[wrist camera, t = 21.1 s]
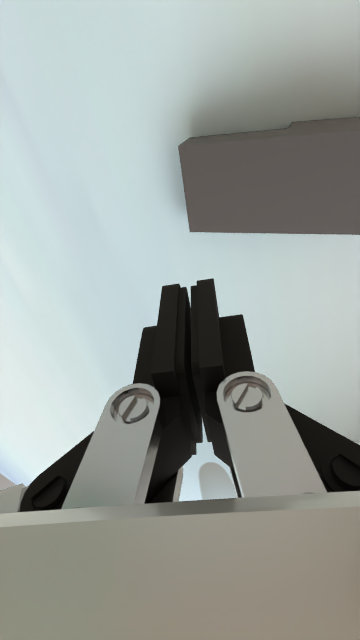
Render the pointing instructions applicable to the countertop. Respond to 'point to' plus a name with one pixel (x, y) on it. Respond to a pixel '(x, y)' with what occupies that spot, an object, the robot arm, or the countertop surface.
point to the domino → (274, 181)
